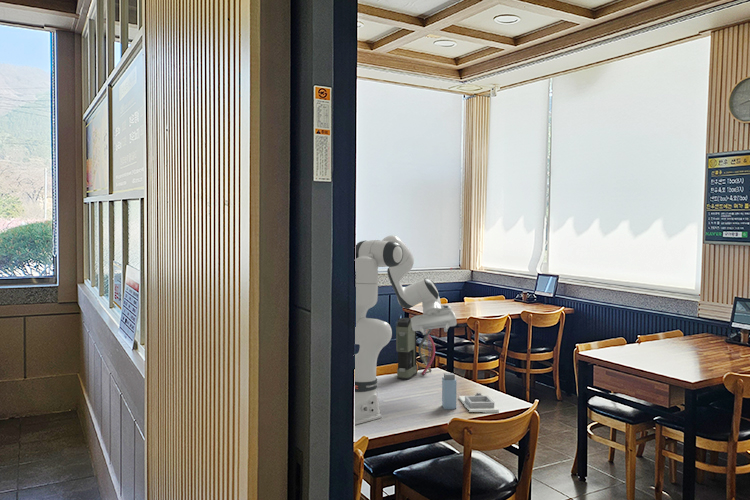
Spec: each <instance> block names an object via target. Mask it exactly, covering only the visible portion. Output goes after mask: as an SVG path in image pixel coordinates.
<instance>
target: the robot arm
mask: <svg viewBox="0 0 750 500" xmlns="http://www.w3.org/2000/svg"><path fill="white" fill-rule="evenodd" d="M355 246H356V327H355V344H354V345H359V348H358V349H359V350H358V352H357V353H355V354H354V355H355V425H359V424H362V423H366V422H371V421H374V420H377V419H378V420H379V419H382V414H381V410H380V403H379V396H378V391H377V389H378V378H377V365H378V364H377V362H378V358H379V355H380V352H381V351H382V349H383V348H385V347H386V346H387V345H388V344H389V343H390V341H391V339H392V337H393V330H392V327H391V325H390V324H389V323H388V322H386V321H384V320H381V319H379V318H371V317H370V318H369V317H367V313H368V311H369V309H371V308H373V307H375V305H377V303H378V297H379V270H378V269H379V268H386V267H388V268H387V273H386V274H387V276H388V279H389V282H390V284H391V287H392V288H393V289H392V290H394V293H395V296H396V299H397V302H398V304H399V305H400V307H401V308H403V309H406V310H410V309H412V308H413V307H416V306H417V305H419V304H421V305H422V314H421V315H418V314H417V315H414V316H413V317H412V316H411V317H410V318H411V326H412V330H413V331H416V332H421V334H422V335H423V336H425V335H426V330H429V329H432V330H433V329H440V328H441V329H442V328H443V331H444V333H447V332H448V330H449V328H450V327H456V326H457V324H458V323H457V322H458V321H457V317H456V314H455V312H454V310H452V306H450V305H445V304H444V305H443V304H442V303H441V298H440V296H439V290H438V287H437V285H436V284H435V281H433V280H431V279H429V278H422V279H420V280H417V281H416V282H413V283H411V284H409V285H407V286H403V285H402V282H401V279H402V278H404V276H406V275H407V274H409V273H410V271H411V270H412V268H413V267H414V264H415V263H414V262H415V257H414V255H413V253H412V251H411V250H410V249H409V247H408V246H407V245H406V244H405V242H404V241H403V240H401V239H400V237H398V236H396V235H392V234H391V235H388V236H386V237H384V238H383V239H382V240H379V239H377V240H376V239H375V240H361V241H359V242H357V243H356V245H355ZM355 425H354V426H355Z"/></svg>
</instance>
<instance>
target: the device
mask: <svg viewBox="0 0 750 500" xmlns="http://www.w3.org/2000/svg"><path fill="white" fill-rule="evenodd" d="M411 318H412V317H398V319H397V321H395V324H396V325H395V328H396V329H395V330H396V331H395V332H396V333H395V334H396V336H395V339H396V340H395V341H396V342H395V345H396V346H395V347H396V348H395V350H396V352H397V368H396V374H397V375H396V377H397V380H402V381H409V380H411V379H412V378H414V377H415V376H417V375H418V364H417V354H418V353H417V343H418V341H417V331H413V330H412V326H411Z"/></svg>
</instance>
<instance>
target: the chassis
mask: <svg viewBox="0 0 750 500" xmlns="http://www.w3.org/2000/svg"><path fill="white" fill-rule="evenodd" d="M458 400H459V401H460V402H461V403H462V404H464V405H463V406H464V408H465V409H466V408H467V409H468V410H469V411H468V410H467V409H466V410H467V411H468V413H469V412H485V414H493V413H497V414H498V413H500V410H499V408H498V407H497V405H495V402H494V401H493V400H492V399H491V397H490V396H489V395H483V394H482V393H481V392H476V393H475V394H474V395H458Z"/></svg>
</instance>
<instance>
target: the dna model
mask: <svg viewBox="0 0 750 500" xmlns="http://www.w3.org/2000/svg"><path fill="white" fill-rule="evenodd" d="M432 331H433V329H428V330H426V335H423V336H424V337H423V338H422V340H421V341H420V343H419V345H418V346H417V347H418V349H417V350H418V351H417V352H418V353H417V354H418V356H419V358H420V359H421V362H423V363H424V365H425V366H426V367H425V368H424V369H423V371H422V372H421V375H422V376H423V375H425V374H426V373H427V372H429V373H430V372H432V369H431V367H430V366H431V365H432V363H433V361H434V360H435V355H436V346H435V342H434V340H433V338H432V337H431V335H430V334H431V333H432ZM422 349H424V350H422Z"/></svg>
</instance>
